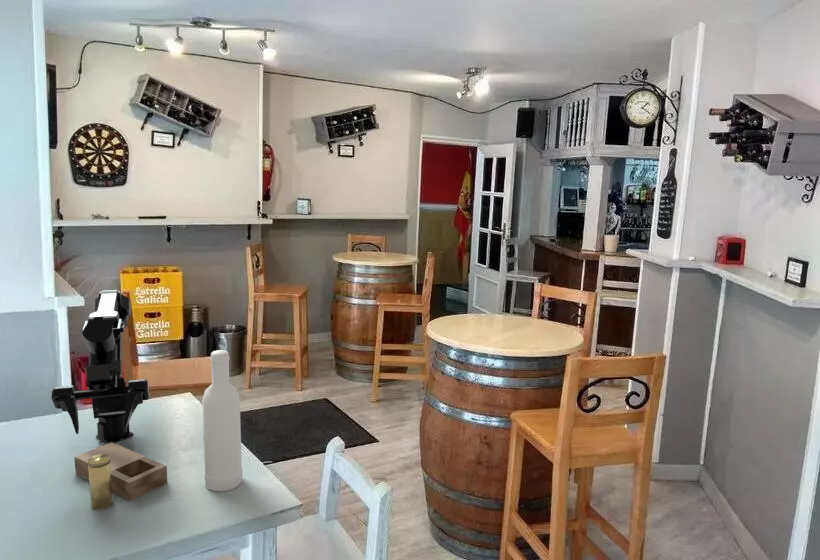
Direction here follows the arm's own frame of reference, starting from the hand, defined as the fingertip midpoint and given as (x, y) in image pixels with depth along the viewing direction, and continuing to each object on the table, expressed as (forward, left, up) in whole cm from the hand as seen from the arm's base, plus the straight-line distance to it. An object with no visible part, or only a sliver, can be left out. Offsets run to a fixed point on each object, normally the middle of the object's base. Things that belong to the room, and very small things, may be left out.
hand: (101, 430), depth 133 cm
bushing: (+4, +6, -13) cm, 15 cm away
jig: (-4, -1, -13) cm, 14 cm away
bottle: (-16, +19, -13) cm, 28 cm away
